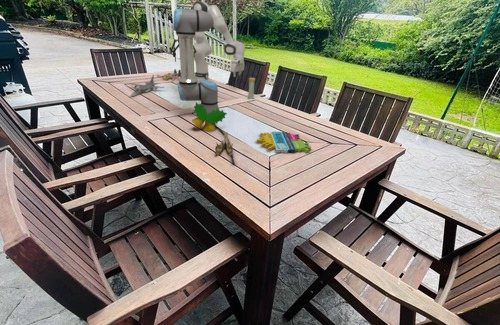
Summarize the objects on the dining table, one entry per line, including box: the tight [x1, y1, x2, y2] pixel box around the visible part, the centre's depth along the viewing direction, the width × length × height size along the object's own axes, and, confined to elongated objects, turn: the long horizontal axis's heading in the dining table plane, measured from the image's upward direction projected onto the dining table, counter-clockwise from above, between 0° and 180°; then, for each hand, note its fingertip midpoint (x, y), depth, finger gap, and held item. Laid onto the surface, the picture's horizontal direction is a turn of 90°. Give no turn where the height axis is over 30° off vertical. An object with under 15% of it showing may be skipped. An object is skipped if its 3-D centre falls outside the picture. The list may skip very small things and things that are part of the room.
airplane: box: [130, 74, 165, 97], centre depth 228 cm, size 38×32×10 cm
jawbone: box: [214, 131, 234, 156], centre depth 136 cm, size 9×15×10 cm
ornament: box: [191, 101, 228, 132], centre depth 162 cm, size 21×8×15 cm, turn 105°
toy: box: [155, 68, 181, 81], centre depth 281 cm, size 28×7×30 cm
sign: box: [256, 131, 312, 154], centre depth 152 cm, size 26×2×30 cm
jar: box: [247, 80, 256, 100], centre depth 228 cm, size 5×5×17 cm
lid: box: [248, 77, 256, 82], centre depth 224 cm, size 6×6×2 cm
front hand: (184, 61), depth 211 cm, fingers open, 13 cm apart
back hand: (237, 76), depth 241 cm, fingers open, 8 cm apart
